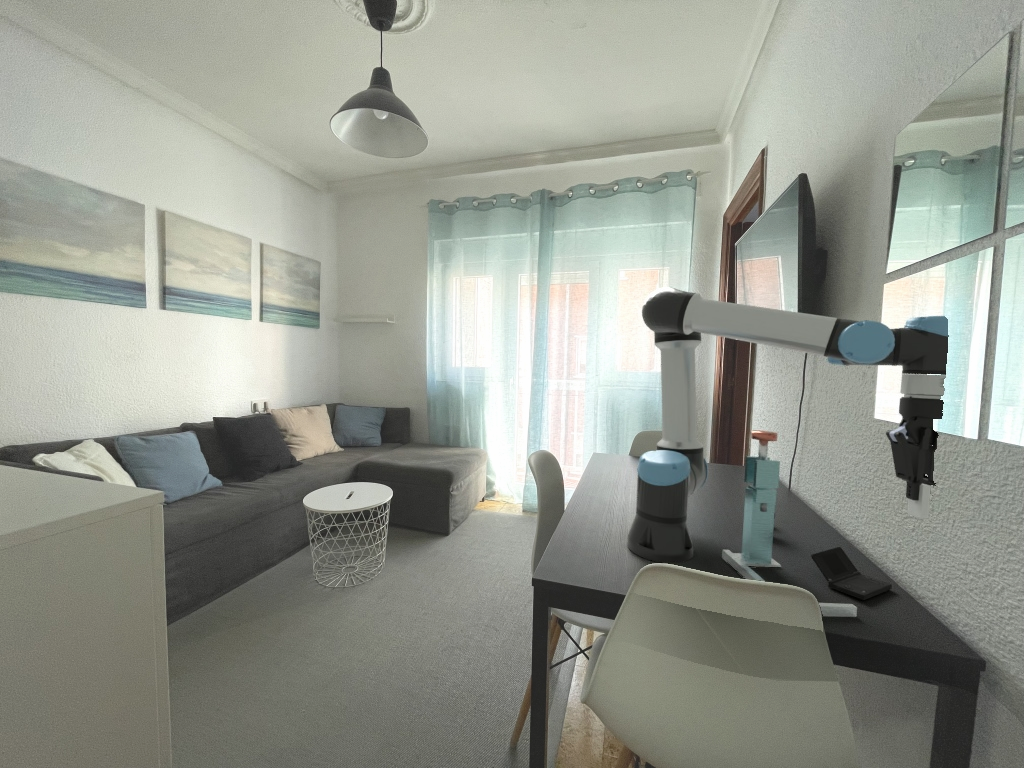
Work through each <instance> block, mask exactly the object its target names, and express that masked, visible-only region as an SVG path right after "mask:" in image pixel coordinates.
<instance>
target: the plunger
mask: <svg viewBox="0 0 1024 768" xmlns="http://www.w3.org/2000/svg"><path fill="white" fill-rule="evenodd" d="M750 432H751V433H750V438H751V440H757V441H758V452H757V457H758V460H767V457H768V453H769V442H778V432H775V431H769V430H759V429H758V430H754V429H753V430H750Z"/></svg>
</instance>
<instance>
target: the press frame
mask: <svg viewBox="0 0 1024 768" xmlns="http://www.w3.org/2000/svg"><path fill="white" fill-rule="evenodd" d="M780 464H781V461H779V460H772V459H771V458H770V457H768V456H767V460H758V456H749V455H747V456H745V465H744V477H743V478H744V483H747V484H748V487H745V494H744V495H745V496H744V508H743V509H744V510H743V522H742V523H743V525H742V541H741V542H742V543H741V544H742V545H741V553H740V552H737V553H736V552H732V551H731V550H729V549H722V550H721V551H722V552H721V553H722V554H721V558H722V560H723V561H725V562H726V563H727V562H728V563H729V564H730V565H731V566H732V567H733V568H734V569H735V570H737V571H738V572H739V573H741V574H742V575H743V576H745V577H742V578H743V579H744V578H746V579H753V580H761V581H765V580H764V578H762V577H761V576H760V575H759V574H758V573H756V571H754V570H753V569H752V567H748V566H765V567H781V568H782V565H781V564H780V563H779V562H777V561H776V560H775V559H774V558H772V553H773V539H774V538H773V537H774V527H775V526H774V525H775V519H774V513H775V514H776V512H775V509H776V505H777V493H778V491H777V489H779V481H780V467H781V465H780ZM750 484H752V485H750ZM728 563H727V564H728ZM729 564H728V565H729ZM730 565H729V566H730ZM731 566H730V567H731ZM732 567H731V568H732ZM733 568H732V569H733ZM734 569H733V570H734ZM735 570H734V571H735ZM738 572H737V573H738ZM739 573H738V574H739ZM818 603H819V605H820V607H821V611H822V614H823V616H822V617H839V618H840V617H848V618H850V617H852V618H856V617H857V613H858V607H857V606H855V605H854V604H853V603H838V602H837V603H835V602H834V603H833V602H832V603H831V602H818Z"/></svg>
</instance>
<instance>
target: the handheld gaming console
mask: <svg viewBox="0 0 1024 768" xmlns="http://www.w3.org/2000/svg"><path fill="white" fill-rule="evenodd" d="M810 558H811V559H812V561H813V563H814V564H815V565H816V567H817V568H818V570H819V571H820V572H821V574H822V576H823V577H824V578H825V580H826V581H827V583H828V588H830V589H832V590H836V591H838V592H840V593H844V594H846V595H849V596H851V597H855V598H857V599H859V600H862V601H865V600H867V599H870V598H872V597H876V596H878V595H880V594H882V593H885V592H888V591H890V590H892V588H893V584H892V583H889V582H887V581H886V582H885V581H884V580H880V579H877V578H874V577H871V576H867V575H865V574H861V571H859V570H858V569H857V567H856V566H855V564H853V563H854V562H852V560H851V559H850V558H849V557H848V555H847V554H846V552H845V551H844V550H843V548H842V547H841V546H837V547H834V548H829V549H826V550H824V551H819V552H815V553H812V554H810Z"/></svg>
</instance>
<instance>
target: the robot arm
mask: <svg viewBox="0 0 1024 768" xmlns="http://www.w3.org/2000/svg"><path fill="white" fill-rule="evenodd" d="M641 316H642V321H643V322H644V325H645V326H646V327H648V329H649V330H650V331H652V332H653V334H654V338H653V339H654V346H655V347H657V348H658V349H659V351H660V374H661V375H660V380H661V381H660V382H661V383H660V384H661V385H660V386H661V387H660V388H661V389H660V390H661V427H662V428H661V429H662V431H661V432H662V433H661V435H662V436H661V437H662V438H661V439H660V440H659V441H658V442H656V450H650V451H647V452H644V453H642V454H641V455H640V457H639V459H638V465H637V468H636V471H637V472H636V473H637V484H636V508H635V516H634V519H633V521H632V523H631V525H630V529H629V530H628V533H627V537H626V539H627V541H626V542H627V543H626V546H627V548H628V549H629V550H630V551H631V552H632V553H633V554H634V555H636V556H638V557H641V558H643V559H645V560H649V561H651V560H652V562H655V563H659V562H663V563H683V561H684V562H687V561H689V560H691V559H692V558H693V557H694V544H693V540H692V536H691V532H690V529H689V525H688V521H687V520H688V505H689V503H688V502H689V497H690V496H691V495H693V494H695V493H696V492H698V491H699V490H700V489H701V488H702V487H703V486H704V485H705V483H706V481H707V479H708V476H709V466H708V463H707V460H706V458H705V457H704V444H703V443H702V442H700V441H699V440H698V435H697V434H698V429H697V428H698V426H697V391H696V388H697V387H696V386H697V381H696V380H697V379H696V378H697V377H696V349H697V348H698V346H699V345H700V344H701V343H702V334H705V335H711V336H714V337H715V336H716V337H721V338H726V339H731V340H738V341H741V342H748V343H752V344H759V345H762V346H768V347H773V348H779V349H783V350H784V349H785V350H790V351H796V352H800V353H806V354H810V355H816V356H820V357H821V356H822V357H826V358H827V359H826V360H827V362H828V363H829V364H830V365H840V366H846V367H847V366H893V367H897V366H899V367H901V368H902V370H901V382H900V383H901V384H900V392H899V393H900V394H902V395H903V396H901V398H899V407H898V414H899V415H900V416H901V418H902V419H901V421H900V422H899V424H898V425H899V427H897V428H896V429H894V430H889V429H888V430H887V431H886V432H885V435H886V437H887V438H888V440H889V442H890V447H891V454H892V461H893V467H894V472H895V476H896V478H898V479H901V480H902V481H905V482H906V486H905V487H906V488H905V489H906V490H905V497H906V499H907V508H906V514H908V515H910V516H913V517H915V518H918V519H921V520H929V517H930V503H931V501H930V494H931V485H933V487H937V486H936V485H935V484H936V483H934V481H933V471H934V452H935V450H936V449H937V438H938V436H939V435H938V433H937V432H935V431H934V430H933V419H942V416H943V413H942V412H943V411H942V410H943V404H944V402H943V400H940V399H941V396H943V395H944V391H945V388H944V386H943V384H944V379H945V378H946V364H947V353H948V337H949V335H948V319H947V318H946V317H945V316H946V315H931V316H929V315H928V316H918V317H910V318H908V319H907V320H906V321H905V325H904V327H898V328H890V327H889V326H888V325H886V324H884V323H882V322H880V321H879V322H878V321H877V320H876V321H875V320H869V319H867V320H855V319H854V320H852V319H847V318H845V319H844V318H838V317H832V316H826V315H825V316H824V315H818V314H812V313H804V312H797V311H790V310H784V309H777V308H770V307H764V306H763V307H762V306H758V305H757V306H755V305H750V304H749V305H748V304H742V303H735V302H734V303H733V302H728V301H727V302H726V301H721V300H714V299H707V298H706V299H705V298H703V297H702V296H701V294H700V293H697V292H691V291H686V290H682V289H677V288H674V287H662V288H658V289H656V290H654V291H652V292H651V293H650V294H649V295H648V296H647V297H646V299H645V300H644V302H643V304H642V308H641ZM927 374H941V375H927ZM932 445H933V446H932ZM925 474H927V475H928V477H927V476H925Z"/></svg>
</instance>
